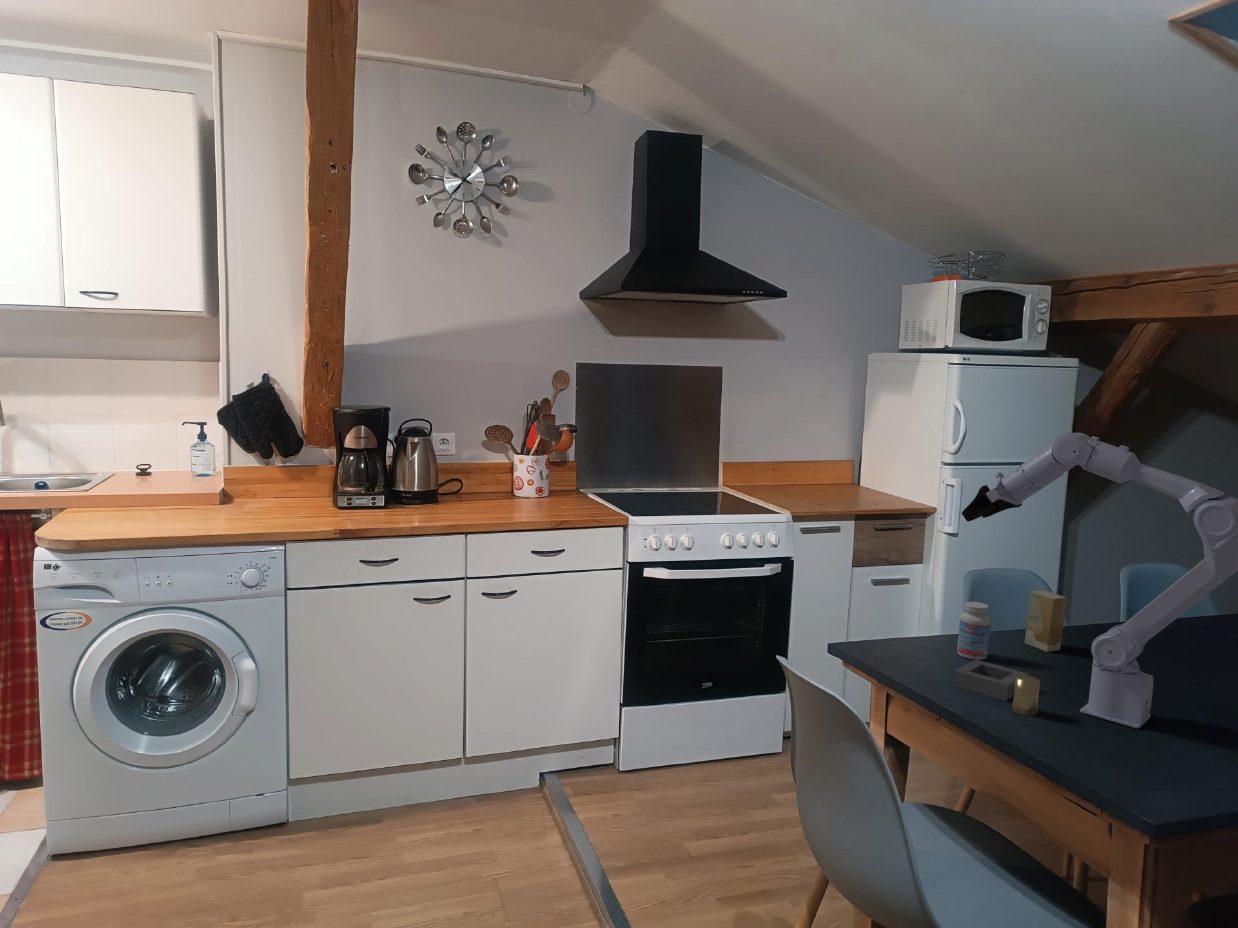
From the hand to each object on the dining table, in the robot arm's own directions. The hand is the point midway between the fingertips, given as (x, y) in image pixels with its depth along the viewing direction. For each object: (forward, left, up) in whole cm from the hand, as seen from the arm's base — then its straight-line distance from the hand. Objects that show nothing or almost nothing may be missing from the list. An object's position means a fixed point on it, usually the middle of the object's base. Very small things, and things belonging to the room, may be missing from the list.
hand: (973, 515), depth 172 cm
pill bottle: (+2, -12, -32) cm, 35 cm away
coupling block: (-8, +4, -32) cm, 33 cm away
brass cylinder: (-17, +11, -32) cm, 38 cm away
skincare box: (-6, -31, -32) cm, 45 cm away
